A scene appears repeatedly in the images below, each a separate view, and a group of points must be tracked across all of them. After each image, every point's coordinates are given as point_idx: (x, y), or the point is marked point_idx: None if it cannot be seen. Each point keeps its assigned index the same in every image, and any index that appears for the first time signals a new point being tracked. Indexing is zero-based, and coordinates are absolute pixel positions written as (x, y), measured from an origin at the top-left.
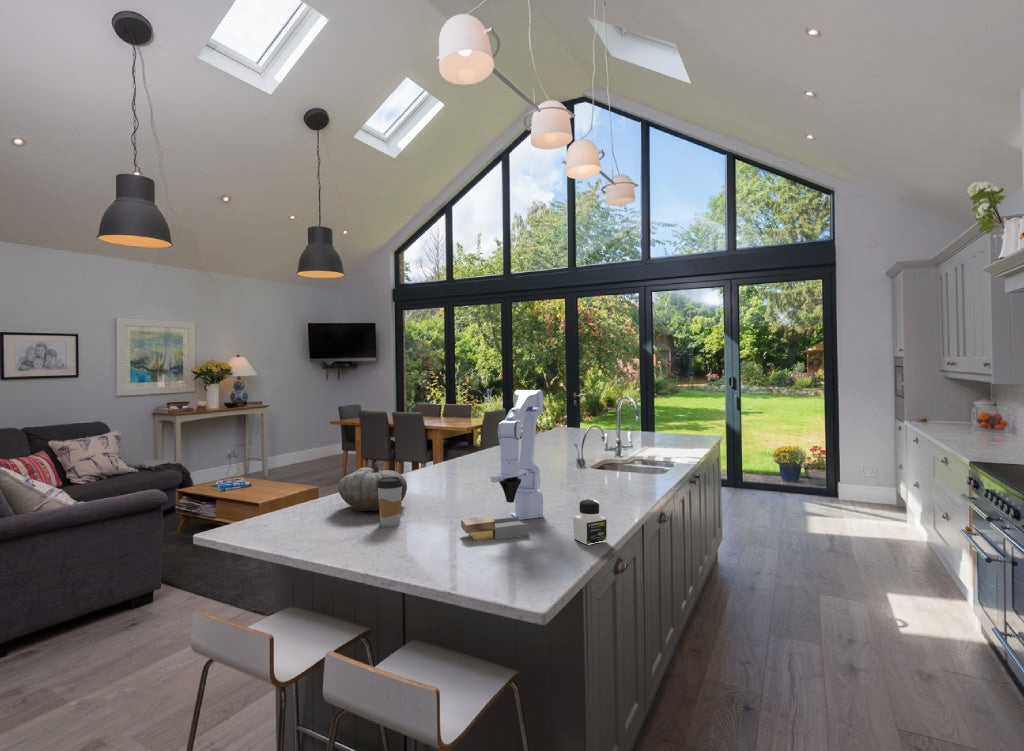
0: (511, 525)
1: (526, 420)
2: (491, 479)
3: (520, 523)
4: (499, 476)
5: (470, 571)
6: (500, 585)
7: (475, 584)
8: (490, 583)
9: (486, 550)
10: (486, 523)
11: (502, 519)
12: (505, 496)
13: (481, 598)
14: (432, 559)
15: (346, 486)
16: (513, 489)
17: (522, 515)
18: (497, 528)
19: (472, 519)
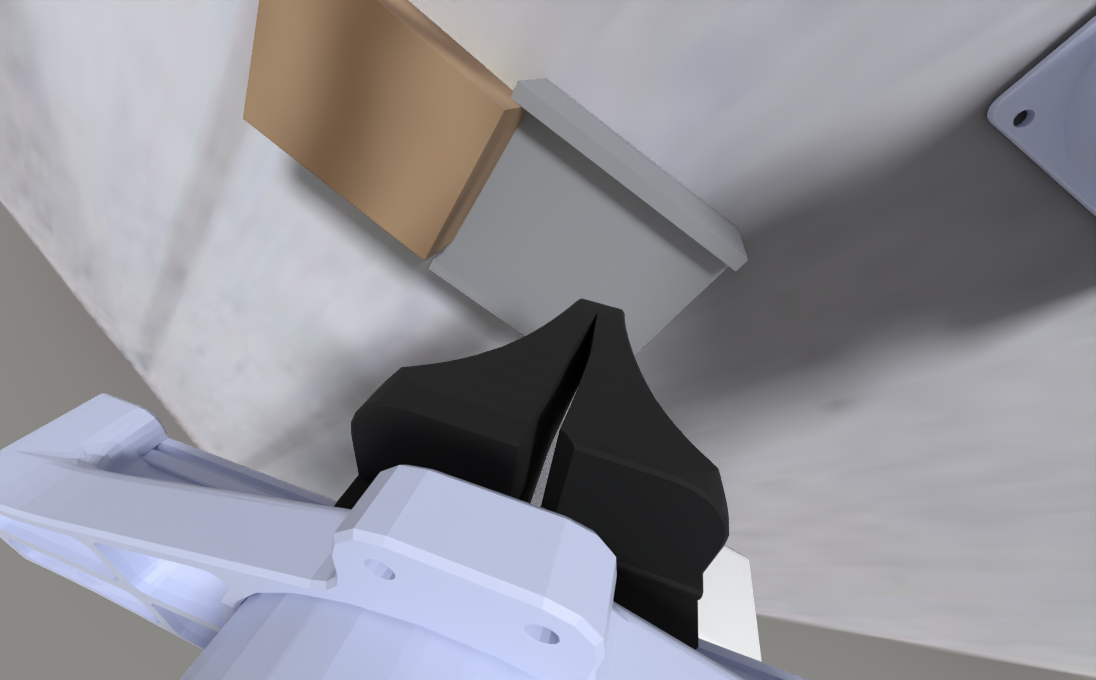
0: (520, 324)
1: None
2: (57, 443)
3: (653, 311)
4: (130, 595)
5: (211, 342)
6: (245, 437)
7: (196, 391)
8: (230, 416)
9: (339, 286)
10: (377, 218)
11: (622, 180)
12: (558, 317)
13: (186, 429)
14: (116, 155)
15: None
16: (536, 481)
17: (1078, 118)
18: (438, 271)
19: (340, 51)
